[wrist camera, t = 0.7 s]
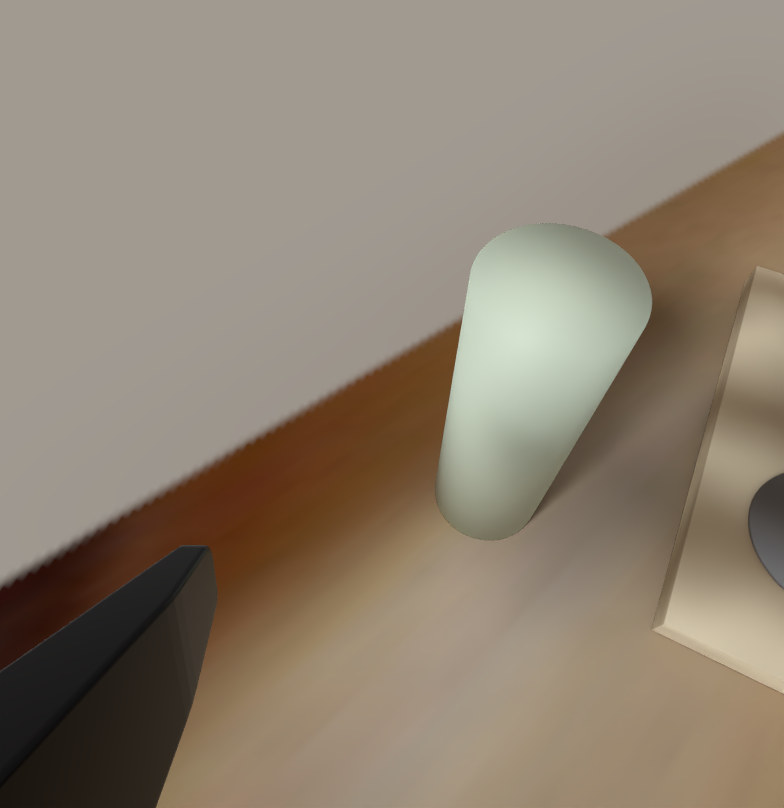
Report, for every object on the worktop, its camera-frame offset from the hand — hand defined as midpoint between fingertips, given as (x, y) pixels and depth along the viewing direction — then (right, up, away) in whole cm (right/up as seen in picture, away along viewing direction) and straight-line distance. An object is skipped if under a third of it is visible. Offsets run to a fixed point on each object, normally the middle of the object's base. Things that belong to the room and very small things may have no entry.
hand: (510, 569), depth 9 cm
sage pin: (+2, -1, +17) cm, 17 cm away
